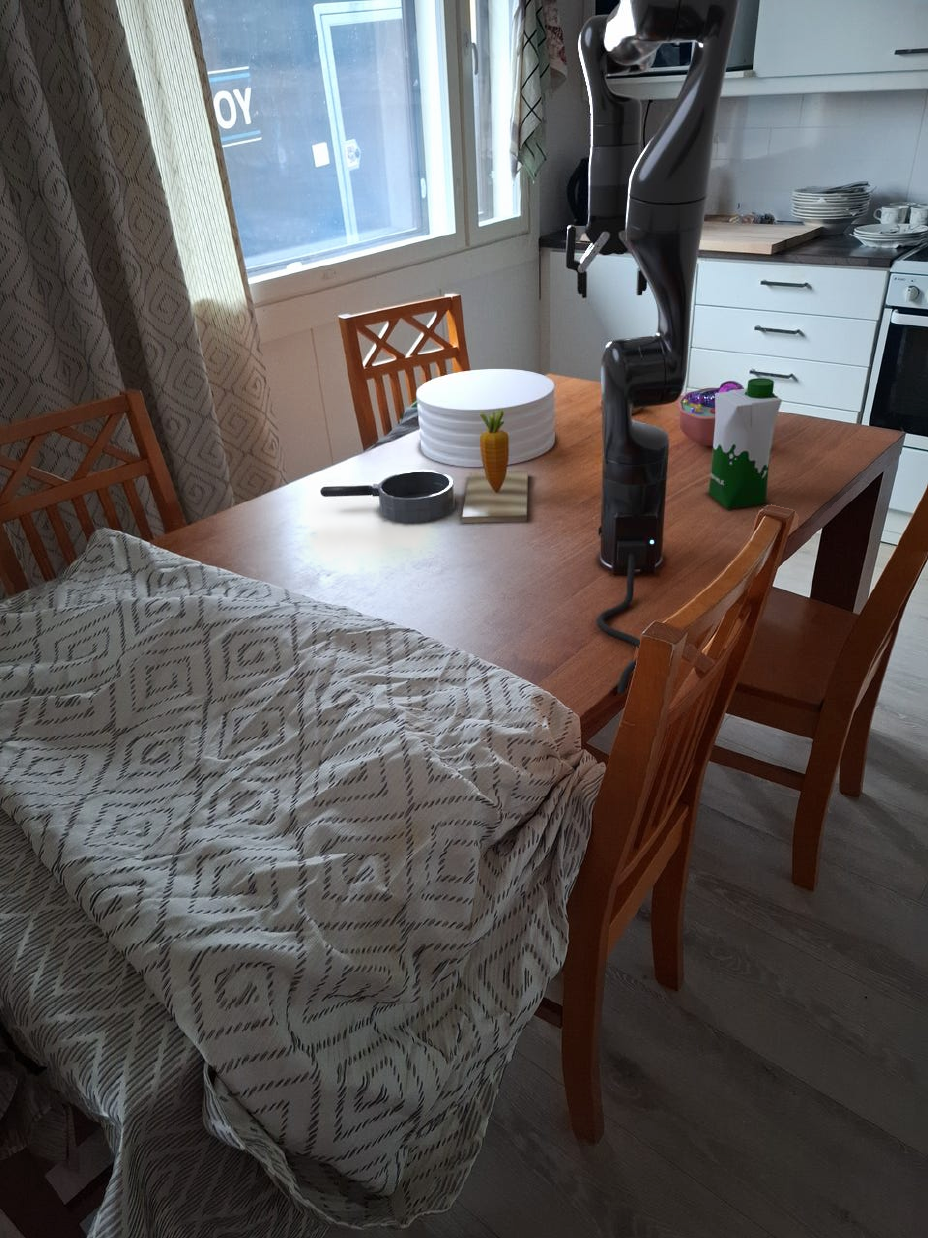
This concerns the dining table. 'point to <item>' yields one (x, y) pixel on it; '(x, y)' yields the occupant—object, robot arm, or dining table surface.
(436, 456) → the plate stack
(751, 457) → the milk carton
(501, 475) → the carrot
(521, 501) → the board
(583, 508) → the dining table surface
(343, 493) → the pan handle
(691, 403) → the cell model
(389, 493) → the pan
